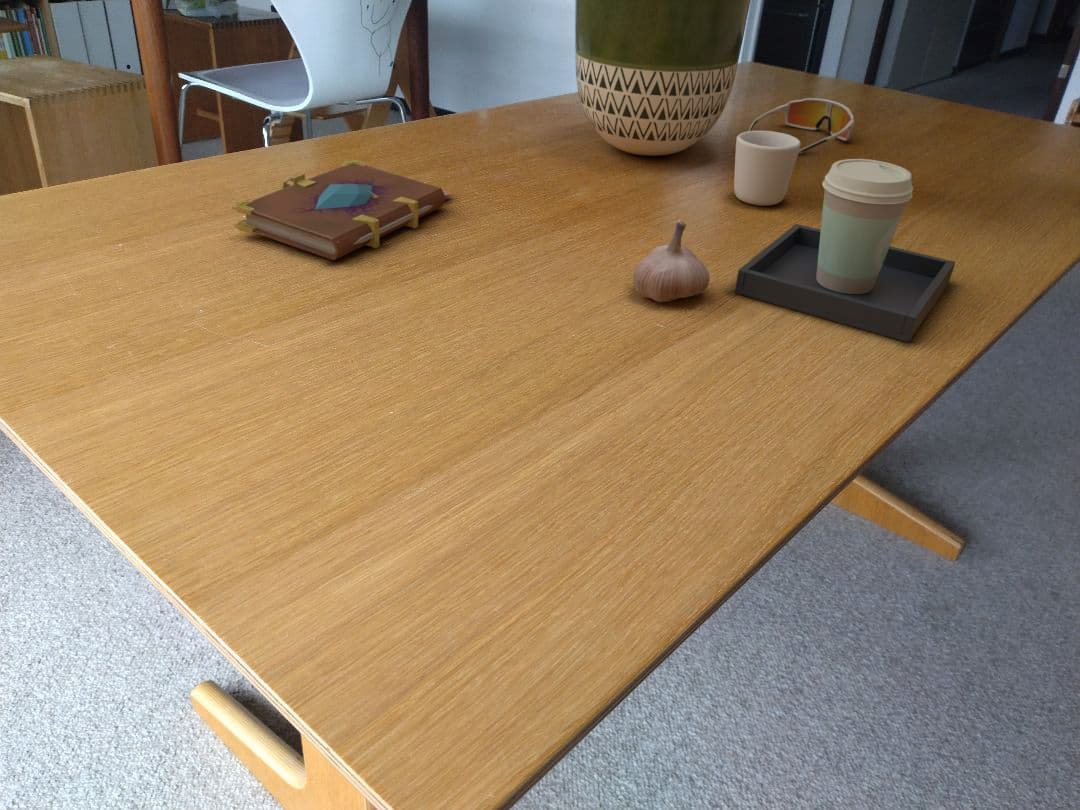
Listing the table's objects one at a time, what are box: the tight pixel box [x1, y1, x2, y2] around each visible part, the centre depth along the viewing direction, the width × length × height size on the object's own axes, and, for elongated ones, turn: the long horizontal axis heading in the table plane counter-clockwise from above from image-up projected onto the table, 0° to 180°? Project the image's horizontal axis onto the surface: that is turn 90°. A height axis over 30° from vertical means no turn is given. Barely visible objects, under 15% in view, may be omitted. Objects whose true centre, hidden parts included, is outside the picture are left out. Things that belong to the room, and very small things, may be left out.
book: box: [231, 159, 453, 261], centre depth 104 cm, size 16×25×5 cm, turn 151°
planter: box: [574, 0, 752, 157], centre depth 125 cm, size 24×24×27 cm
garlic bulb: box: [632, 219, 710, 303], centre depth 87 cm, size 8×7×8 cm
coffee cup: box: [816, 158, 914, 294], centre depth 89 cm, size 8×8×12 cm
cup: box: [733, 130, 802, 207], centre depth 114 cm, size 11×8×8 cm
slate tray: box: [734, 223, 956, 343], centre depth 91 cm, size 18×17×3 cm
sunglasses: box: [748, 97, 855, 155], centre depth 140 cm, size 14×15×5 cm
